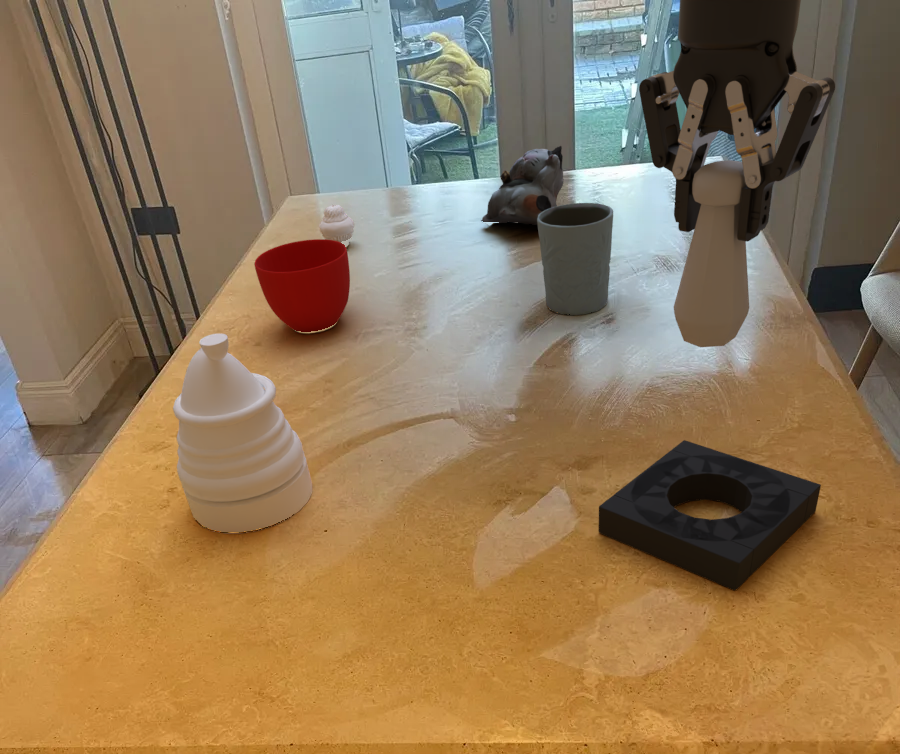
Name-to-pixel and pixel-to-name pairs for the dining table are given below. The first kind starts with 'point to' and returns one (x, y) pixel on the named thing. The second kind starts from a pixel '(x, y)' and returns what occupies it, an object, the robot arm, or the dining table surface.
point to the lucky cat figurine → (527, 188)
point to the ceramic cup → (306, 282)
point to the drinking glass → (576, 256)
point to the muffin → (336, 224)
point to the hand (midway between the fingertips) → (718, 232)
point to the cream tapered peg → (714, 260)
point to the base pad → (703, 540)
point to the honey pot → (236, 445)
